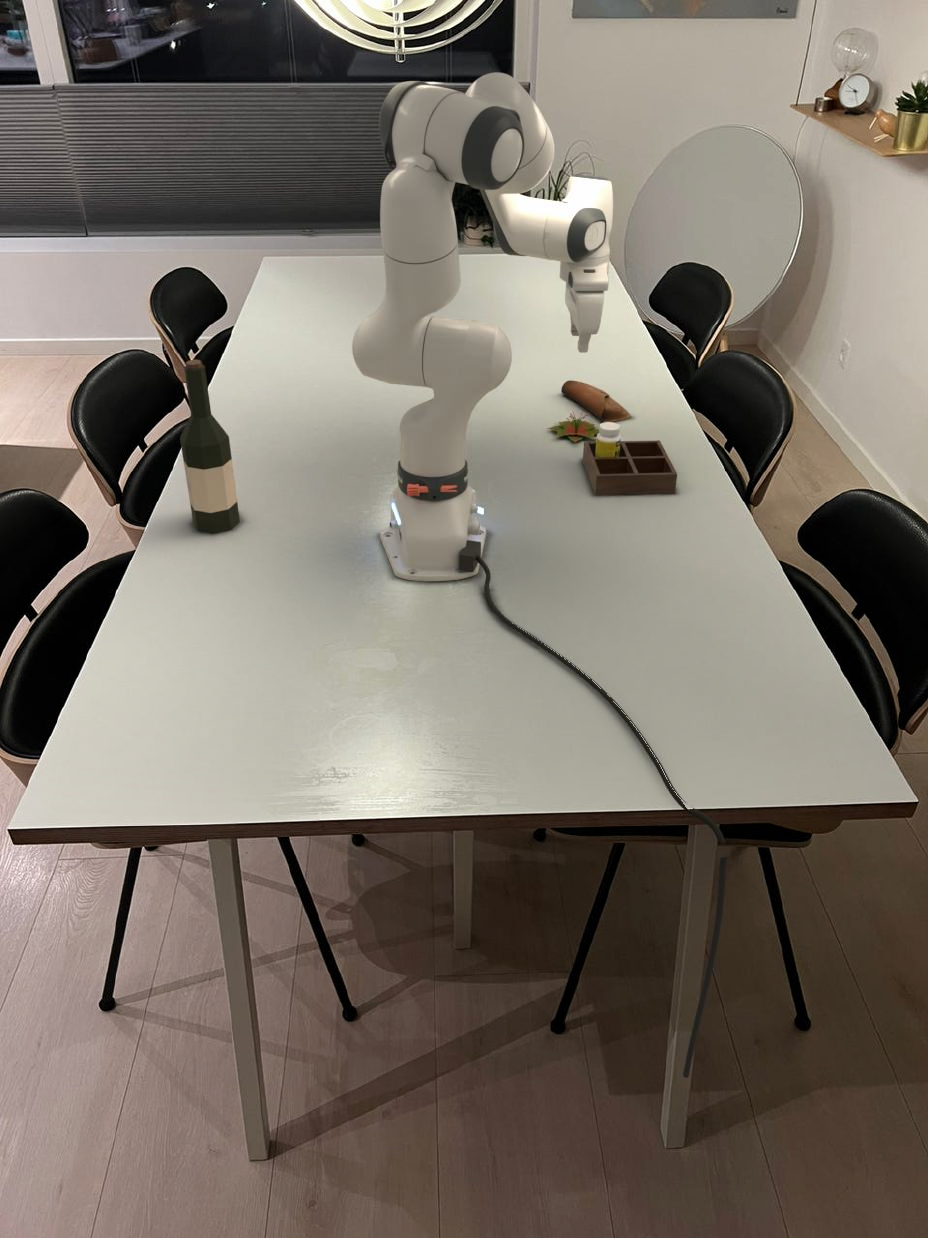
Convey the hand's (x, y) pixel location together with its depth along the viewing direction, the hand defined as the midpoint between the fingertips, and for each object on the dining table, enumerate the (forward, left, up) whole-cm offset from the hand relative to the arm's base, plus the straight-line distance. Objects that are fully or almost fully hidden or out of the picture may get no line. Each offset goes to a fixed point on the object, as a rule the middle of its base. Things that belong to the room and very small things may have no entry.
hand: (578, 342), depth 198 cm
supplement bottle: (-5, -6, -24) cm, 25 cm away
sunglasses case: (+27, -10, -24) cm, 38 cm away
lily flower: (+13, -3, -24) cm, 28 cm away
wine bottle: (-23, +68, -24) cm, 76 cm away
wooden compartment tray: (-8, -10, -24) cm, 28 cm away
